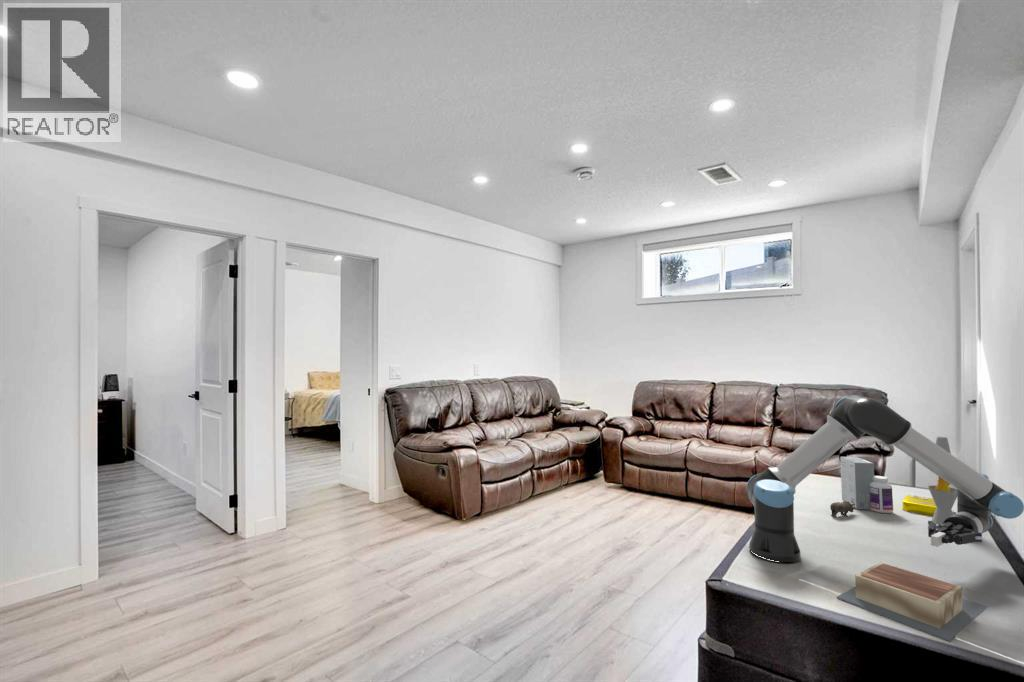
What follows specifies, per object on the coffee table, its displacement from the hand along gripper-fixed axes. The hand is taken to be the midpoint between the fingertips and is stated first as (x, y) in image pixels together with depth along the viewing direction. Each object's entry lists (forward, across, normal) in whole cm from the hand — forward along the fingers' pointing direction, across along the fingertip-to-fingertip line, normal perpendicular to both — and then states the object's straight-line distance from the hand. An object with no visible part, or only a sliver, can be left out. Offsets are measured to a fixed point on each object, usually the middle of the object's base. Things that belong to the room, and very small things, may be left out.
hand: (934, 541), depth 140 cm
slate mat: (+17, 0, -13) cm, 21 cm away
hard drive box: (-69, +47, -13) cm, 84 cm away
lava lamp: (-65, +16, -13) cm, 68 cm away
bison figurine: (-48, +44, -14) cm, 66 cm away
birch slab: (+11, 0, -10) cm, 15 cm away
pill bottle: (-67, +38, -13) cm, 78 cm away
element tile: (-85, +28, -13) cm, 91 cm away
